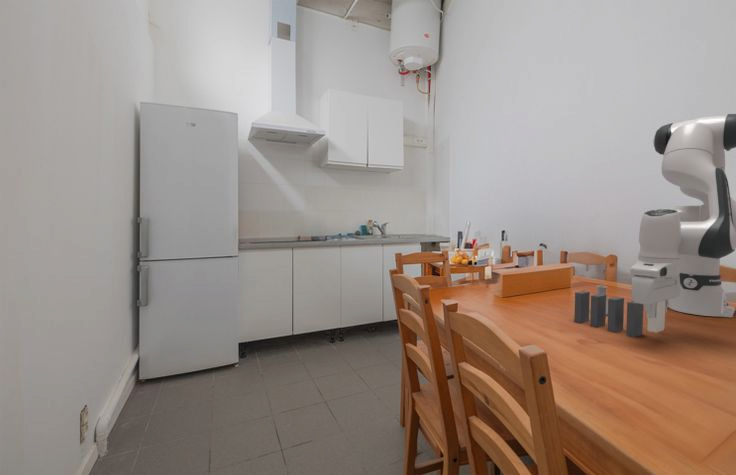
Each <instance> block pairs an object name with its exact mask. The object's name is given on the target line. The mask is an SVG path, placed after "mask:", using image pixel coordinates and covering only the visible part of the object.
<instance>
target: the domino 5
mask: <svg viewBox="0 0 736 475" xmlns="http://www.w3.org/2000/svg"><path fill="white" fill-rule="evenodd" d="M654 307H655V312H656V317H655V318H648V317H647V331H648V332H651V333H659V332H662V331H664V330H665V323H666V322H665V317H666V314H665V300H664V301H661V302H657V303H656V304H655V306H654Z"/></svg>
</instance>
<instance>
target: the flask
mask: <svg viewBox="0 0 736 475" xmlns="http://www.w3.org/2000/svg"><path fill="white" fill-rule="evenodd" d="M596 289H597V291H596V294H604V295H606V316H608V299H609V298H608V297H607V289H608V287H607V286H606V285H596ZM589 313H591V307H589Z"/></svg>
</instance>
